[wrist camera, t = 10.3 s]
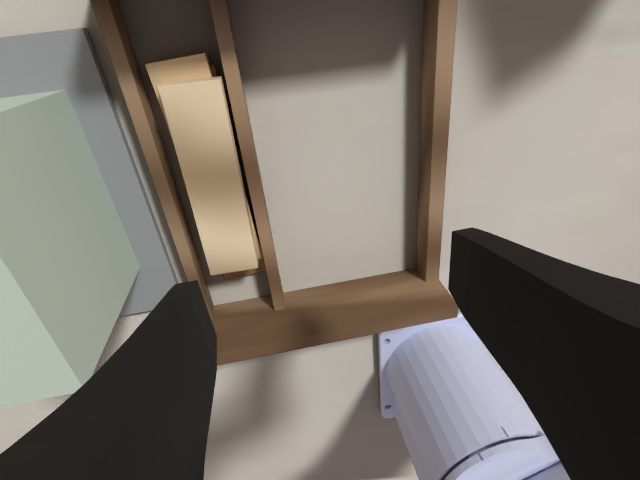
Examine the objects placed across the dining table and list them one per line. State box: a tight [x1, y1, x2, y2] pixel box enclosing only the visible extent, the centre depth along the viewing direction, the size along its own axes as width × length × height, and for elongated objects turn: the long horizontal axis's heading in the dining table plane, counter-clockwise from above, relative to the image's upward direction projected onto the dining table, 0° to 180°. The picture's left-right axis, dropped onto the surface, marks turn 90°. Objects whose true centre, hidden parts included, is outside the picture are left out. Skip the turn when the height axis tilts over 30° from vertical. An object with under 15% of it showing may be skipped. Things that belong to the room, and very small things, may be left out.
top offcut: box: [158, 76, 258, 275], centre depth 17 cm, size 9×2×1 cm, turn 5°
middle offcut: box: [145, 52, 263, 259], centre depth 18 cm, size 10×2×1 cm, turn 10°
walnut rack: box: [91, 0, 458, 365], centre depth 18 cm, size 17×14×4 cm
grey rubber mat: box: [0, 28, 179, 317], centre depth 18 cm, size 14×6×1 cm, turn 6°
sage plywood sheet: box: [0, 90, 140, 408], centre depth 14 cm, size 9×3×8 cm, turn 6°
